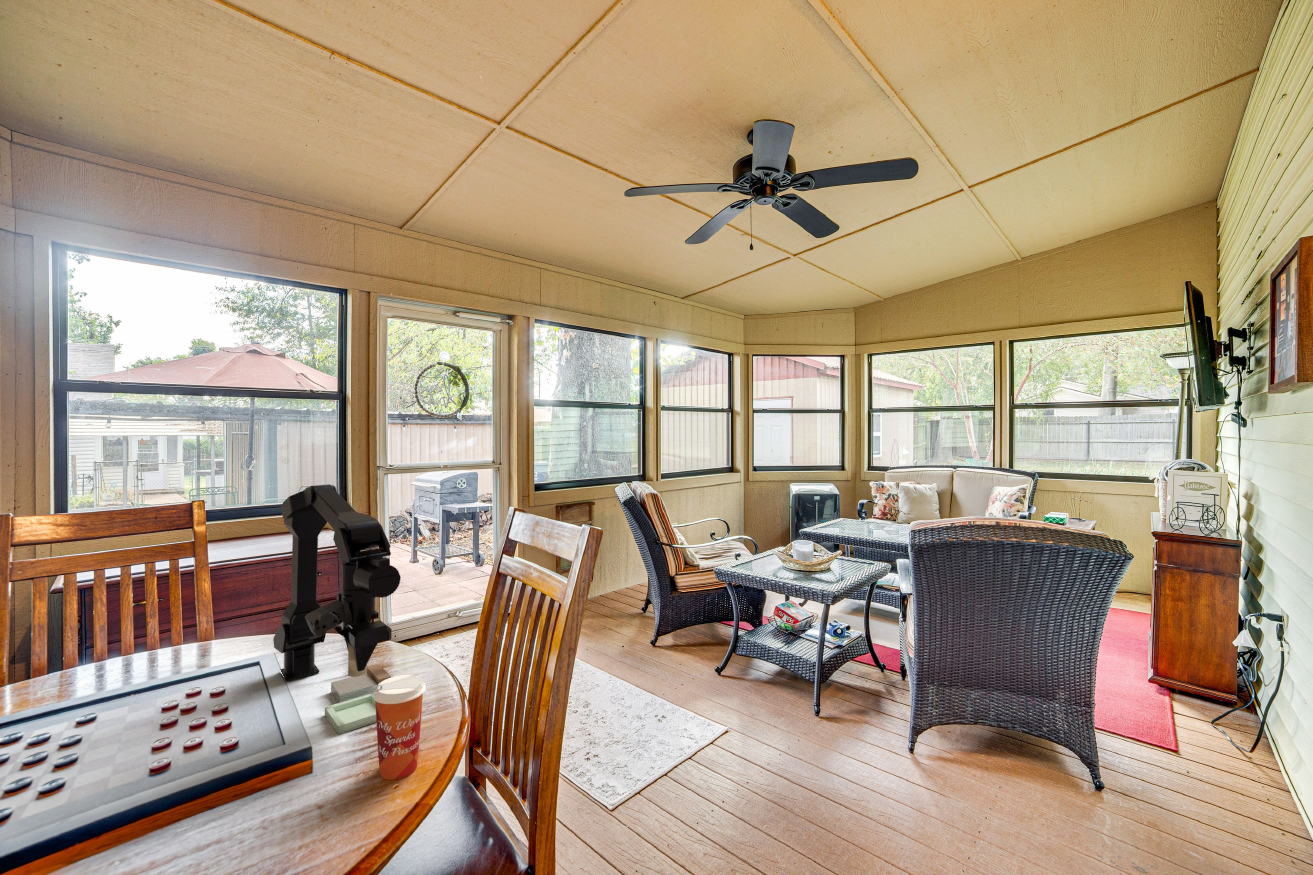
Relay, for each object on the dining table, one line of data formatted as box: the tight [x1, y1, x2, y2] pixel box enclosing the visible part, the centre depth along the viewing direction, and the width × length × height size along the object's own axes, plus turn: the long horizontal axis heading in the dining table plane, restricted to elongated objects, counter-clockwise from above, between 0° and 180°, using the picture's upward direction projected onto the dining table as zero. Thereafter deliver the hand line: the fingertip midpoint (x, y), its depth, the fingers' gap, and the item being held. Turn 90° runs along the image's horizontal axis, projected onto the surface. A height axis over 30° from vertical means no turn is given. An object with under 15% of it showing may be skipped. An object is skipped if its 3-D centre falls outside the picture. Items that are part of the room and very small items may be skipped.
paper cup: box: [373, 674, 427, 781], centre depth 91 cm, size 8×8×14 cm
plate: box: [330, 673, 378, 704], centre depth 116 cm, size 7×7×2 cm
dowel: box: [347, 644, 368, 677], centre depth 107 cm, size 3×3×6 cm
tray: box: [324, 693, 376, 735], centre depth 107 cm, size 9×9×2 cm
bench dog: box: [367, 663, 392, 684], centre depth 120 cm, size 8×2×3 cm, turn 44°
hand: (357, 667), depth 107 cm, fingers closed on dowel, 3 cm apart
